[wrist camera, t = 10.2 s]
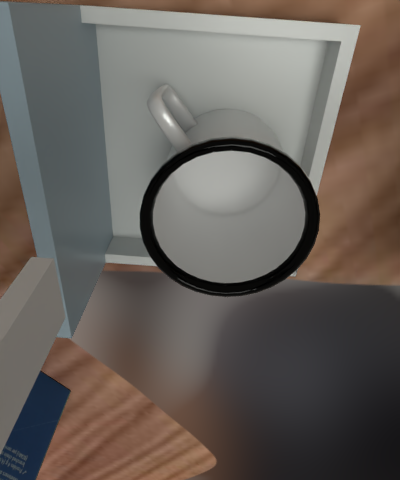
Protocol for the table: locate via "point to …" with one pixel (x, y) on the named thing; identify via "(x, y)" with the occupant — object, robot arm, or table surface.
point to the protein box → (33, 430)
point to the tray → (145, 113)
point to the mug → (225, 202)
